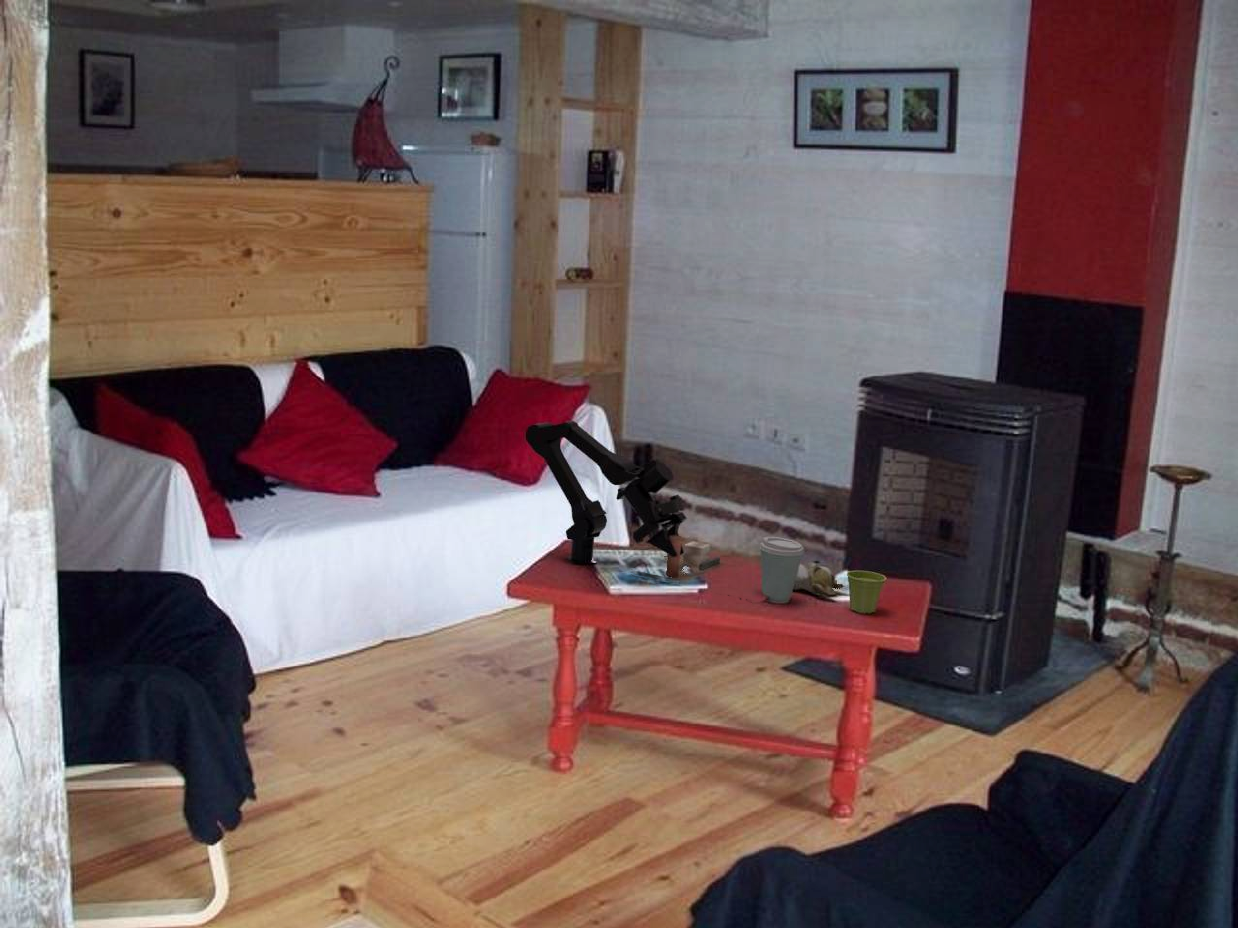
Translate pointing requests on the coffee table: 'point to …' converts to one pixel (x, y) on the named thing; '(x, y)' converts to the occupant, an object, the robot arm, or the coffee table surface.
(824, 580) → the ceramic sculpture
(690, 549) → the pale ash cube
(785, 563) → the disposable coffee cup
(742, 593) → the coffee table surface
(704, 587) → the coffee table surface
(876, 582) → the plant pot
